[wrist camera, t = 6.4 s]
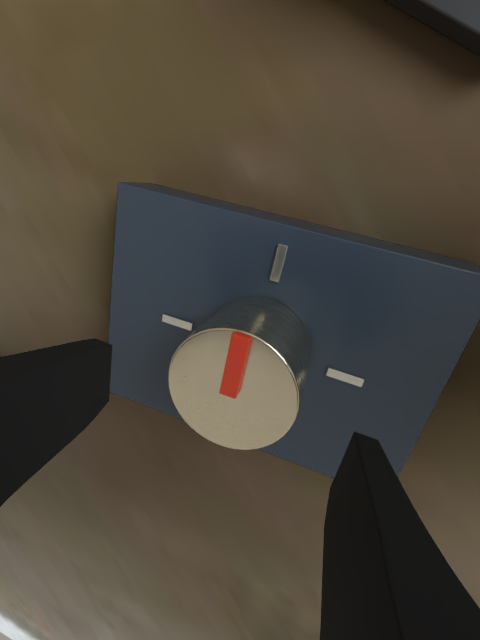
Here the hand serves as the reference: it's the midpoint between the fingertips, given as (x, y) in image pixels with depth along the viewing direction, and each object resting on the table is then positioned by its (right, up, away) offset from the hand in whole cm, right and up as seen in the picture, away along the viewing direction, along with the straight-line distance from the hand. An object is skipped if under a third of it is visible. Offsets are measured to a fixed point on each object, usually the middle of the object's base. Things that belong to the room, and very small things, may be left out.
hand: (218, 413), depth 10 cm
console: (+2, +2, +7) cm, 8 cm away
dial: (+1, +2, +4) cm, 5 cm away
